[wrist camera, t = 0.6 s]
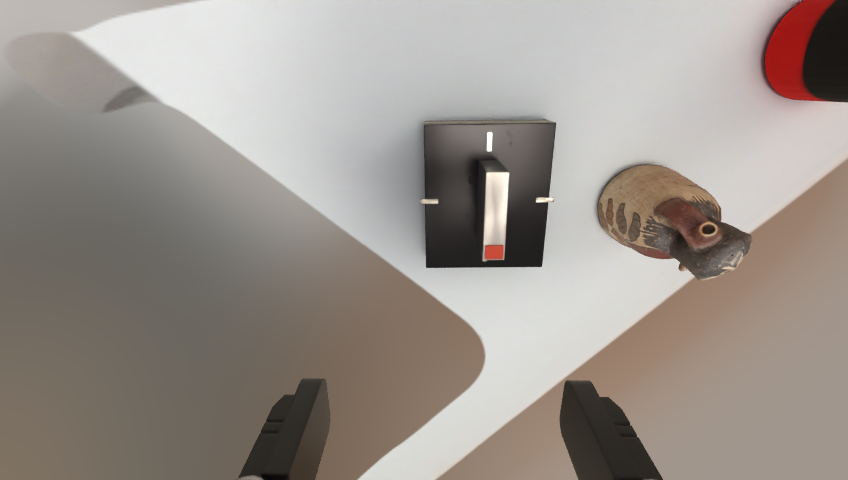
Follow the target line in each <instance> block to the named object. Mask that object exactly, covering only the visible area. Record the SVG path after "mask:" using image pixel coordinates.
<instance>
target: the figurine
mask: <svg viewBox="0 0 848 480" xmlns="http://www.w3.org/2000/svg"><path fill="white" fill-rule="evenodd" d="M598 211H599V218H600V222H601V225H602V227H603V228H604V230H605V231H606V232H607V233H608V234H609V235H610V236H611V237H612V238H613V239H615V240H616V241H617V242H619V243H621V244H622V245H624V246H627V247H630V248H632V249H634V250H636V251H637V252H639V253H641V254H643V255H645V256H648V257H652V258H657V259H672V258H675V259H677V260H678V261H679V262H680V265H679V270H680V271H686V270H687V269H688V270H689V271H690V272H691V273H692V274H693V275H694V276H695V277H696V278H697V279H698V280H701V281H702V280H707V279H710V278H714V277H717V276H721V275H723V274H726V273H728V272H730V271H732V270H734V269H735V268H737V267H738V266H739V265H740V263H741V261H742V260H743V259H744V257H745V256H746V254H747V252H748V250H749V248H750V246H751V243H752V236H751V235H750V234H748V233H745V232H742V231H740V230H738V229H737V228H735V227H733V226H731V225H729V224H726V223H723V222H721V208H720V206H719V205H718V203H717V201H716V200H715V198H714V197H713V196H712V195H710V194H709V193H708V192H707V191H706V190H705V189H703V188H701V187H700V186H698V185H697V184H695V183H693V182H692V181H690V180H689V179H687V178H686V177H684V176H682V175H681V174H679V173H677V172H676V171H673V170H671V169H669V168H666V167H662V166H655V165H644V166H636V167H632V168H630V169H627V170H624V171H623V172H621V173H620V174H619V175H617V176H616V177H615V178H613V179H612V181H611V182H610V183H609V184H608V185H607V186H606V187H605V189H604V191H603V193H602V196H601V198H600V201H599V204H598Z"/></svg>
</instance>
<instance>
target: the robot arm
mask: <svg viewBox="0 0 848 480" xmlns="http://www.w3.org/2000/svg"><path fill="white" fill-rule="evenodd" d="M329 427H330V409H329V400H328V392H327V383H326V380H325V379H302V380H301V381H300V384H299V386H298V388H297V391H296V393H295V395H284V396H283V397H282V398H281V399H280V400H279V401H278V402H277V403H276V404H275V405H274V406H273V407H272V409H271V412H270V414H269V416H268V418H267V420H266V423H265V424H264V426H263V428H262V430H261V434H259V437H258V438H257V440H256V442H255V445H254V447H253V449H252V451H251V453H250V455H249V457H248V459H247V461H246V463H245V465H244V467H243V469H242V471H241V474H240V475H239V477H238V479H236V480H315V477H316V474H317V471H318V467H319V464H320V460H321V457H322V454H323V450H324V446H325V443H326V439H327V436H328V432H329ZM560 428H561V433H562V437H563V439H564V442H565V445H566V447H567V450H568V453H569V455H570V458H571V461H572V464H573V466H574V469H575V471H576V474H577V477H578V479H579V480H663V479H662V477H661V475H660V474H659V472H658V470H657V468H656V467H655V465H654V463H653V462H652V460H651V458H650V457H649V455H648V453H647V451H646V450H645V448H644V446H643V445H642V443H641V441H640V439H639V438H638V437H637V435H636V433H635V431H634V429H633V427H632V426H630V422H629V421H628V419H627V417H626V416H625V414H624V412H623V410H622V409H621V408H620V407H619V406H618V405H616V404H615V403H614V402H613V401H612V400H611V399H610V398H609V397H599V395H598V393H597V391H596V389H595V387H594V386H593V384H592V383H591V381H575V380H574V381H572V380H568V381H566V382H565V385H564V392H563V398H562V405H561V411H560Z"/></svg>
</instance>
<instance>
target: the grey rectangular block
mask: <svg viewBox="0 0 848 480" xmlns="http://www.w3.org/2000/svg"><path fill="white" fill-rule="evenodd" d="M509 175H510V172H509V171H508V170H507V169H506V168H505V167H504V166H503V165H502V163H501V162H500V161H499V160H479V161H478V189H477V219H476V240H477V243H478V246H479V250H480V253H481V256H482V259H483V260H504V257H505V241H506V224H507V208H508V192H509Z"/></svg>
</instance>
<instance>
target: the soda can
mask: <svg viewBox="0 0 848 480" xmlns="http://www.w3.org/2000/svg"><path fill="white" fill-rule="evenodd" d="M765 70H766V74H767V78H768V80H769V82H770V84H771V86H772V87H773V88H774V89H775V90H776V92H778V93H779V94H781V95H782V96H784V97H787V98H790V99H794V100H808V101H831V102H848V0H803V1H802V2H800V3H799V4H798V5H796V6H795V7H794V8H792V9H791V10H790V11H789V12H788V13H787V14H786V15H785V16H784V18H783V19H782V20H781V22H780V23H779V24H778V26H777V27H776V29H775V31H774V33H773V34H772V36H771V38H770V41H769V44H768V47H767V51H766V57H765Z"/></svg>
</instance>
